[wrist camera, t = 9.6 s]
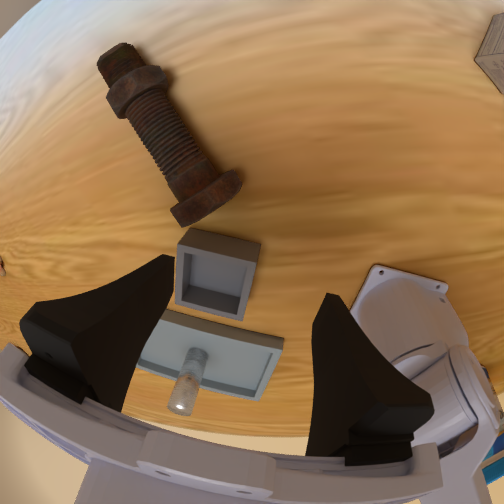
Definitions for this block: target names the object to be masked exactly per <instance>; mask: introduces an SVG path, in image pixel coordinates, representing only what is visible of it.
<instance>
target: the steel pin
mask: <svg viewBox="0 0 504 504" xmlns="http://www.w3.org/2000/svg"><path fill="white" fill-rule="evenodd" d="M208 358H209V355H208V353H207V352H206V351H204V350H203V349H200V348H196V347H193V348H190V349H189V350H188V352H187V354H186V357H185V360H184V362H183V365H182V367H181V370H180V373H179V375H178V378H177V381H176V383H175V386H174V389H173V391H172V394H171V397H170V399H169V402H168V405H167V407H168V409H169V410H170V411H172V412H174V413H176V414H178V415H182V416H190V415H191V413H192V410H193V407H194V404H195V400H196V397H197V394H198V391H199V387H200V384H201V381H202V378H203V374H204V371H205V368H206V365H207V361H208Z"/></svg>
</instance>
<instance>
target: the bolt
mask: <svg viewBox="0 0 504 504" xmlns="http://www.w3.org/2000/svg"><path fill="white" fill-rule="evenodd" d="M130 45H131V44H127V43H119V44H118V45H116V46H114V47H113V48H111V49H110V50H108V51H107V52H106V53H104V54H103V55H101V56H100V58H99V60H98V62H97V66H98V70H99V71H100V73H101V75H102V76H103V79H105V82H106V84H107V85H108V87H109V88H110V90H109V91H108V93H107V96H106V99H107V101H108V102H109V104H110V106H111V107H112V109H113V111H114V112H115V114H116V116H117V117H118V118H119V119H125V118H127V119H128V120H130V121H129V122H130V123H131V124H132V127H134V130H135V131H136V133H137V134H138V136H139V138H141V141H143V145H145V147H146V148H147V149H148V151H149V152H151V153H150V154H151V155H152V156H153V159H154V160H155V163H156V164H157V163H158V165H157V167H161V168H160V171H163V173H162V174H163V175H165V179H166V181H167V182H168V186H169V187H170V189H171V191H172V192H173V194H174V195H175V197H176V198H177V200H178V201H179V203H178V204H176V205H175V206H173V207H172V208H171V209H170V211H171V213H172V214H173V216H174V217H175V219H176V220H177V222H178V223H179V224H180V226H181V227H186V226H189V225H191V224H193V223H195V222H197V221H199V220H201V219H202V218H204V217H205V216H207V215H208V214H210V213H211V212H213V211H214V210H216V209H217V208H219V207H220V206H222V205H223V204H225V203H226V202H228V201H229V200H230V199H232V198H233V197H234V196H235V195H236V194H237V193H238V192H239V191H240V189H241V187H242V182H241V181H240V179H239V177H238V176H237V174H236V173H235V171H234V170H231V171H228V172H225V173H223V174H222V175H220V176H219V175H218V173H217V172H216V170H215V169H214V167H213V165H212V164H211V162H210V161H209V159H208V158H206V157H205V155H203V154H202V151H198V150H199V149H200V148H199V147H196V146H197V143H194V141H195V140H194V139H192V136H190V135H189V134H190V132H187V130H188V129H187V128H184V127H185V125H184V124H182V123H183V121H182V120H180V117H178V114H177V113H175V112H176V110H173V109H174V108H173V106H171V103H169V100H168V99H167V96H164V95H165V93H166V91H167V89H168V81H167V77H166V75H165V74H164V72H163V71H162V69H161V68H160V66H154V65H148V66H146V65H145V64H144V62H143V60H142V59H141V57H140V56H139V54H138V53H137V51H136V50H135V48H134V46H133V45H131V46H130Z"/></svg>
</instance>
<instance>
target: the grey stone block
mask: <svg viewBox="0 0 504 504" xmlns="http://www.w3.org/2000/svg"><path fill="white" fill-rule="evenodd" d="M475 61H476V62H477V64H478V65H479V66H480V67H481V68H482V69H483V70H484V72H485V73H486V74H487V75H488V76H489V77H490V79H491V80H492V81H493V82H494V84H495V85H496V86H497V87H498V89H499V90H500V91H501V93H502V94H504V13H500V14H497V15H494V16H493V19H492V22H491V24H490V27H489V29H488V32H487V34H486V36H485V39H484V41H483V43H482V45H481V48H480V50H479V52H478V54H477V56H476V58H475Z"/></svg>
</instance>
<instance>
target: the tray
mask: <svg viewBox="0 0 504 504" xmlns="http://www.w3.org/2000/svg"><path fill="white" fill-rule="evenodd" d="M193 347H196V348H200V349H203V350H204V351H206V352H207V353H208V355H209V358H208V361H207V365H206V368H205V371H204V374H203V378H202V381H201V384H200V387H199V388H202V389H206V390H210V391H214V392H218V393H222V394H226V395H230V396H235V397H239V398H244V399H249V400H254V401H259V400H260V398H261V396H262V394H263V392H264V390H265V387H266V385H267V383H268V381H269V379H270V377H271V375H272V373H273V370H274V368H275V366H276V364H277V362H278V359H279V357H280V355H281V353H282V351H283V338H280V337H275V336H270V335H266V334H261V333H257V332H252V331H248V330H244V329H239V328H235V327H231V326H227V325H223V324H219V323H215V322H211V321H207V320H204V319H200V318H196V317H193V316H189V315H185V314H182V313H178V312H175V311H171V310H168V309H165V311H164V313H163V315H162V316H161V318H160V320H159V322H158V323H157V325H156V327H155V328H154V330H153V332H152V333H151V335H150V337H149V339H148V340H147V342H146V344H145V346H144V348H143V350H142V353H141V355H140V358H139V360H138V362H137V365H136V367H137V368H139V369H142V370H145V371H148V372H150V373H153V374H156V375H159V376H162V377H165V378H168V379H171V380H175V381H177V378H178V375H179V373H180V370H181V367H182V365H183V362H184V360H185V357H186V354H187V352H188V350H189V349H190V348H193Z"/></svg>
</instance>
